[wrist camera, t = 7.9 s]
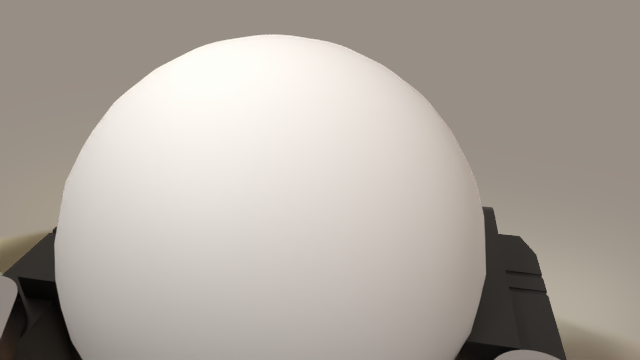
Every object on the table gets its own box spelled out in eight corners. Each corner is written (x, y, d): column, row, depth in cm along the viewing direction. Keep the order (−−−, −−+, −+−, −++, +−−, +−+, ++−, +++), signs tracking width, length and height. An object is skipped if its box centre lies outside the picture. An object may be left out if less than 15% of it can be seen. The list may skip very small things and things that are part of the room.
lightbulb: (470, 648, 10) (677, 114, 4) (137, 756, 8) (-148, 184, 3) (368, 386, 15) (408, -6, 10) (152, 429, 14) (57, 1, 8)
